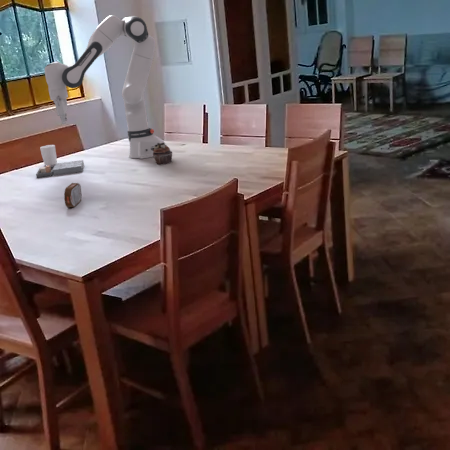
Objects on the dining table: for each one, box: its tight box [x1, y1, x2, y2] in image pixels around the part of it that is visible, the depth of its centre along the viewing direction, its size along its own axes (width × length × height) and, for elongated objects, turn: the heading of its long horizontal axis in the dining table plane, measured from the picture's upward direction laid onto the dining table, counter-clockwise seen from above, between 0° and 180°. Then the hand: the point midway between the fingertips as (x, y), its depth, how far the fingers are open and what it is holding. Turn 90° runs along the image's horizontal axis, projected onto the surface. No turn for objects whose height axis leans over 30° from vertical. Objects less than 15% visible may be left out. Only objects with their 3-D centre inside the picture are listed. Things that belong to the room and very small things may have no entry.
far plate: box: [53, 159, 85, 177], centre depth 329 cm, size 14×16×3 cm
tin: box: [63, 182, 83, 209], centre depth 260 cm, size 15×3×8 cm, turn 175°
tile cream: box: [39, 166, 46, 173], centre depth 331 cm, size 4×4×2 cm
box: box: [35, 165, 55, 179], centre depth 328 cm, size 8×16×2 cm, turn 9°
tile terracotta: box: [44, 165, 52, 173], centre depth 324 cm, size 4×4×2 cm
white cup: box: [39, 144, 58, 166], centre depth 350 cm, size 8×8×10 cm
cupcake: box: [153, 143, 173, 166], centre depth 320 cm, size 10×10×10 cm
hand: (64, 122), depth 328 cm, fingers open, 8 cm apart
